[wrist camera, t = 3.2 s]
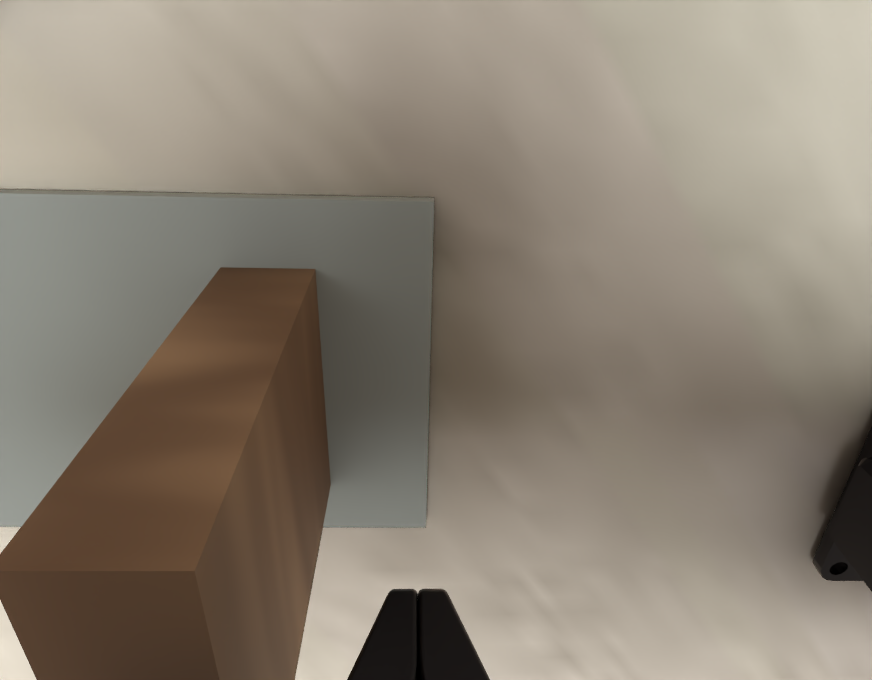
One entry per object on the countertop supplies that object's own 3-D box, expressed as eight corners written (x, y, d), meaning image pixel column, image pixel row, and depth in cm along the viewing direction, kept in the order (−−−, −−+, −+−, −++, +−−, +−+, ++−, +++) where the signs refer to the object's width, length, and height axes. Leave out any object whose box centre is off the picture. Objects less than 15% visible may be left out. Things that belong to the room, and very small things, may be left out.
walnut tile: (315, 269, 13) (193, 570, 6) (330, 484, 16) (260, 861, 9) (217, 267, 13) (-20, 571, 6) (250, 484, 16) (115, 863, 9)
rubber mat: (433, 197, 13) (434, 201, 12) (425, 519, 17) (426, 527, 17) (-319, 182, 12) (-335, 186, 12) (-133, 518, 17) (-142, 526, 16)
